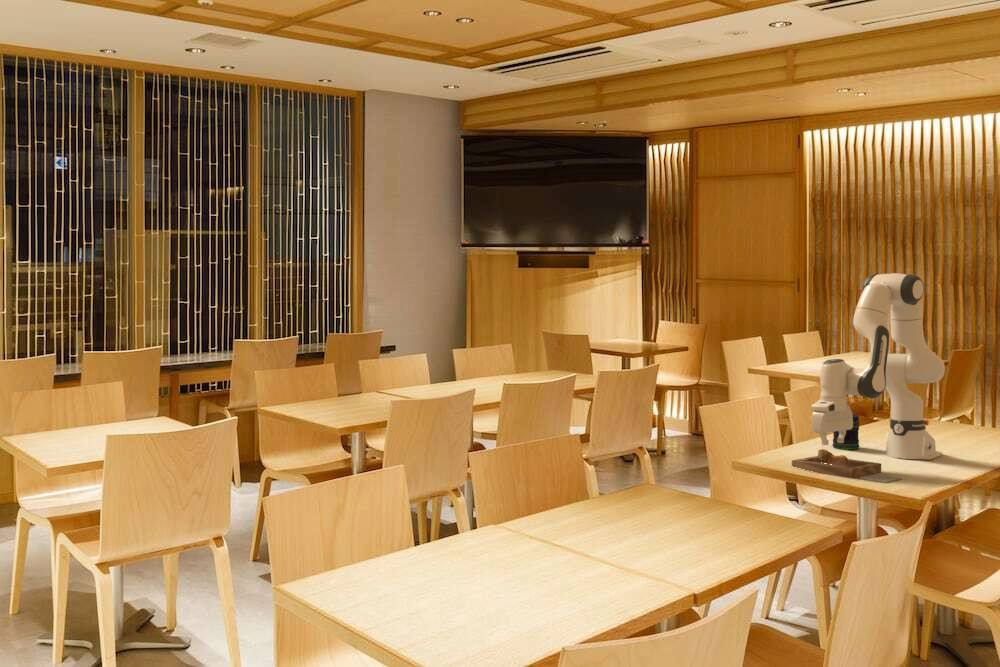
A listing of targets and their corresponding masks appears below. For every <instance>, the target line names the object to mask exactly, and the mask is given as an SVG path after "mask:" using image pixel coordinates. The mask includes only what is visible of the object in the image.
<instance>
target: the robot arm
mask: <svg viewBox="0 0 1000 667" xmlns="http://www.w3.org/2000/svg"><path fill="white" fill-rule="evenodd" d="M861 287H862V288H861V289H862V293H861V295H860V297H859V299H858V301H857V302H858V303H857V305H856V307H855V311H854V315H853V320H852V324H853V327H854V329H855V331H856V332H857V333H858V334H859V335H861V336H862V337H864V338H866V339H867V340H868V341H869V343H870V353H869V358H868V359H869V360H868V366H867V367H866V368H858V367H857V368H856V367H855V368H854V367H853V366H851V365H849V364H847V362H845V359H842V358H834V359H827V360H825V361H823V362H822V364H821V368H820V377H819V379H820V380H819V385H820V396H819V399H818V400H817V401H816V402H815V403H812V404H811V410H812V414H811V429H812V432H813V433H814V434H815V433H816V434H819V438H820V439H821V445H822V446H828V445H829V441H830V440H828V438H827V436H828V433H834V432H835V431H839V437H838V438H837V442H838V443H844V437H845V434H846V430H850V429H852V427H853V417H852V414H853V412H852V410H851V406H850V405H849V404H848V403H847V395H850V396H857V397H863V398H868V399H876V398H879V397H880V396H881V395H882V394H883V393H884V391H885V390H886V391H887V394H888V396H889V399H890V409H891V410H890V411H891V413H890V414H891V415H890V416H891V418H890V419H889V428H890V431H888V432H887V433H886V434H887V437H886V446H885V447H886V448H885V450H883V453H884V454H886V455H887V457H889V456H890V458H896V459H902V460H903V459H905V460H932V459H933V460H934V459H935V458H937V457H940V456H942V455H943V452H942V451H938V450H936V448H937V447H936V440H935V438H934V437H933V436H932V435H931V434H930V432H928V431H927V430H926V426H929V424H930V420H928V419H924V401H923V399H922V396H920V395H918V394H917V393H915V392H913V391H911V390H910V389H908V387H907V385H906V384H908V383H909V384H931V383H932V384H933V383H939V382H940V381H941V380H942V379H943V377H944V375H945V372H946V365H945V363H944V361H943V359H942V358H941V357H940V356H938V355H937V354H935V353H934V352H933V351H932V349H930V347H929V346H928V344H927V342H926V339H925V336H924V326H923V323H924V322H923V307H922V306H923V305H922V301H921V299H922V297H923V296H924V292H925V284H924V281H923V280H922V279H921V277H919V276H918V275H914V274H909V273H908V274H905V273H897V272H892V273H873V274H870V275H868V276H867V277H866V278H865V279H864V281H863V282H862V286H861ZM889 311H890V312H889ZM889 313H890V330H889V329H888V328H887V323H888V322H887V321H888V317H889ZM889 331H890V332H889ZM890 337H891V339H892V341H893V342H895V343H896V344H898V345H900V346H902V347H903V348H905V349H906V350H907V352H908V353H889V349H890V348H889V347H890Z"/></svg>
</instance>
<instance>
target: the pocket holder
mask: <svg viewBox="0 0 1000 667" xmlns="http://www.w3.org/2000/svg"><path fill="white" fill-rule="evenodd" d="M848 460H849V464H850V467H851V468H850V467H844V466H843V465H842V463H841V462H840V463H837V464H833V463H831V464H832V465H830V464H824V463H823V461H822V460H820V459H819V458H818V455H816V456H815V455H814V456H808V457H802V458H798V459H792V460H791V467H792V466H793V467H797V468H801V469H805V470H804V471H806V470H809V471H808V472H810V471H813V472H812V473H815V472H819V473H818V474H822V473H823V474H822V475H827V476H828V475H829V476H835V477H840V478H841V477H843V478H848V479H855V478H858V477H863V476H868V475H872V474H879V473H882V463H879V462H874V461H873V462H872V461H865V460H860V459H859V460H858V459H852V458H851V459H850V458H848ZM821 462H822V463H821ZM846 464H847V465H848V462H847V460H846ZM848 466H849V465H848ZM797 468H796V469H797ZM801 469H800V470H801Z"/></svg>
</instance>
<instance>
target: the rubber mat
mask: <svg viewBox="0 0 1000 667" xmlns="http://www.w3.org/2000/svg"><path fill="white" fill-rule="evenodd" d="M857 479H858V480H863V481H871V482H877V483H882V484H887V483H888V484H889V483H891V482H897V481H900V480H901V481H902V480H903V478H902V477H896V476H890V475H883V474H879V473H875V474H870V475H865V476H861V477H857Z"/></svg>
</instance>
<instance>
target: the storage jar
mask: <svg viewBox="0 0 1000 667" xmlns="http://www.w3.org/2000/svg"><path fill="white" fill-rule="evenodd" d="M852 417H853V427H852V429H850V430H846V434H845V437H844V443H838V442H837V438H838V437H839V431H835V432H833V438H832V447H834V449H837V450H841V451H857V450H859V448H860V444H859V443H860V440H859V430H860V422H859V421H860V419H859V418H860V415H858V414H853V413H852Z"/></svg>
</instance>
